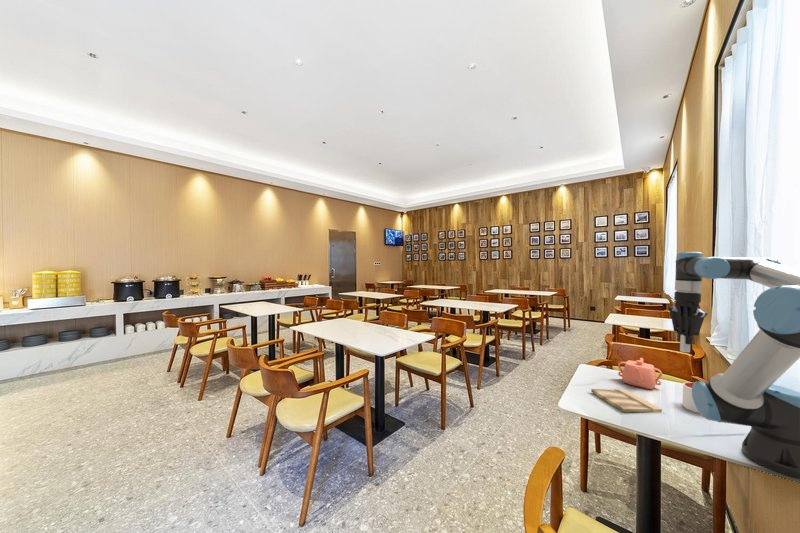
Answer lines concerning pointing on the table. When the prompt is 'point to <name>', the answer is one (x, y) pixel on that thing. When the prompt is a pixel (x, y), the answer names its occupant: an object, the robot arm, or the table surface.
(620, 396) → the board
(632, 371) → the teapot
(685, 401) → the cup
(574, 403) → the table surface
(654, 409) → the pad
